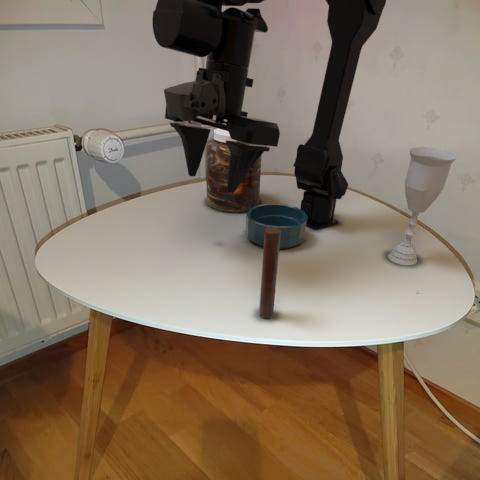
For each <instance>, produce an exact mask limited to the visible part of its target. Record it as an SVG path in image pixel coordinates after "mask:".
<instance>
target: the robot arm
mask: <svg viewBox="0 0 480 480" xmlns="http://www.w3.org/2000/svg"><path fill="white" fill-rule="evenodd" d="M263 2H265V0H157V2H156V5H155V10H153V11H152V12H153V13H152V33H153V36H154V38H155V41H156V43H157V44H158V45H159V46H160V47H162V48H164V49H167V50H171V51H176V52H179V53H182V54H185V55H186V54H187V55H190V56H193V57H198V58H205V57H206V61H205V68H204V67H198V70H196V74H195V79H194V80H193V81H188V82H183V83H179V84H176V85H173V86H169V87H166V88H164V89H163V94H164V100H165V114H164V119H166V120H169V121H171V122H169V125H170V127H171V128H173V129H174V130H175V131H176V133H177V134H178V136H179V137H180V139H181V143H182V148H183V152H184V158H185V163H186V168H187V169H186V170H187V172H188V174H187V175H188V176H189V177H196V176H197V174H198V170H199V168H200V165H201V161H202V158H203V156H204V153H205V150H206V146H207V142H208V140H209V137H210V134H211V129H210V128H207V127H204V126H208V127H212V128H214V129H217V128H219V129H222V130H225V131H228V132H229V134H230V137H231V139H234V140H237V141H227V140H226V143H227V146H228V148H229V150H230V153H231V158H230V166H229V174H228V185H227V191H228V192H229V193H234V192H235V190H236V189H237V187H238V186H239V185H240V183H241V182H242V180H243V179H244V177H245V176H246V174H247V173H248V171H249V170H250V169H251V167H252V166H253V165H254V163H255V162H256V161H257V160H258V159H259V157H260V156H261V157H262V155H263V154H264V152H270V150H271V147H274V148H275V147H278V144H279V141H280V137H281V130H280V128H279V125H278V123H277V122H272V121H269V120H264V119H262V118H261V119H260V118H255V117H249V116H248V114H249V112H247V111H243V107H244V101H245V95H246V90H247V89H246V88H247V87H248V88H253V85H254V79H253V78H249V77H248V76H249V69H250V63H251V59H252V52H253V46H254V40H255V33H265V34H266V33H267V32H268V31H269V27H268V24H267V22H266V20H265V19H264V18H263V16H262V13H261V10H260V8H255V7H254V8H253V7H248V8H246V10H245V11H244V10H243V9H240V8H237V7H243V6H245V5H246V4H261V3H263ZM325 2H326V4H327V6H328V10H327V19H326V24H327V28H328V31H329V36H330V40H331V45H330V50H329V54H328V59H327V63H326V68H325V73H324V78H323V82H322V87H321V92H320V96H319V101H318V105H317V109H316V113H315V114H316V115H315V120H314V123H313V127H312V133H311V136H310V137H309V138H308V139H307V140H306V142H305V143H304V144H303V143H300V144H298V146H297V148H296V156H295V160H294V162H293V165H292V166H293V167H294V177H295V180H296V188H297V189H298V190H302V191H303V194H302V199H301V201H300V207H299V209H301V210H302V211H304V212H305V213H306V215H307V216H308V219H307V226H308V227H309V228H311V229H313V230H319V229H322V228H325V227H326V228H327V227H329V226H334V225H337V224H339V220H338V219H337V218H335V217H334V216H335V209H336V205H337V204H336V203H337V200H341V199H342V198H343V197H344V196H345V195H346V193H347V190H348V187H349V183H348V181H347V179H346V177H345V175H344V174H343V172H342V167H343V162H344V161H343V160H344V154H343V151H342V147H341V142H340V136H341V133H342V129H343V125H344V120H345V116H346V113H347V108H348V105H349V100H350V96H351V92H352V88H353V84H354V80H355V76H356V72H357V69H358V65H359V64H358V63H359V59H360V57H361V53H362V52H361V51H362V49H363V47H364V45H365V44H366V42H367V41H369V39H370V38H371V36H372V35H373V34H374V32H376V30H377V28H378V25H379V23H380V20H381V16H382V14H383V11H384V9H385V6H386V3H387V0H325ZM223 7H228V8H226V9H225V10H223V11H222V9H223ZM214 116H215V119H214ZM172 121H173V122H172Z"/></svg>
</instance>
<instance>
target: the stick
mask: <svg viewBox="0 0 480 480" xmlns="http://www.w3.org/2000/svg"><path fill="white" fill-rule="evenodd" d="M280 234H281V230H280V229H279V228H276V227H268V228H266V229H265V233H264V247H263V249H262V250H263V252H262V264H261V265H262V267H261V278H260V279H261V280H260V297H259V308H258V309H259V311H258V315H259V317H260V318H262V319H264V320H269V319H272V318H273V317H274V311H275V301H276V300H275V298H276V288H277V278H278V277H277V276H278V267H279V257H280V255H279V254H280V249H279V245H280Z"/></svg>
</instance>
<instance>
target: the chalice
mask: <svg viewBox="0 0 480 480" xmlns="http://www.w3.org/2000/svg"><path fill="white" fill-rule="evenodd" d="M409 155H410V160H409V164H408V169H407V171H406V176H405V179H404V193H405V194H404V195H405V199H406V200H405V201H406V203H407V204H406V205H407V208H408V210H409V211H411V212H412V214H411V217H410V219H409V220H408V221H407V224H408V228H407V229H406V230H405V231H404V234H405V239H404V241H402V242H401V243H397V244H396V245H395V246H394V247H393V249H391V251H390V252H389V253H388V255H387V259H389V261H391V262H392V263H394V264H397V265H401V266H413V265H416V264H417V263H418V258H417V256H418V255H417V249H416V247H415V246H414V245H412V243H411V240H412V238H413V237H414V236H415V235H416V233H415V228H416V226H417V225H418V217H419V214H422V213H425V212H426V211H427V210H428V209H429V208H430V207H431V206H432V205H433V204H434V202H435V201H436V200H437V198H438V197H439V196H440V195H441V193H442V192H443V190H444V188H445V186H446V182H447V178H448V176H449V172H450V169H451V167H452V164H453V163H454V162H455V161H456V160H457V158H458V155H457V154H455V152H452V151H450V150H446V149H442V148H438V147H427V146H415V147H412V148H410V149H409Z"/></svg>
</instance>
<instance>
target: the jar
mask: <svg viewBox="0 0 480 480" xmlns="http://www.w3.org/2000/svg"><path fill="white" fill-rule="evenodd" d="M226 140H227V141H237V140H234V139H231V137H230V134H229V132H228V131H225V130H222V129H219V128H214V130H213V137H212V138H210V139H208V140H207V143H206V146H205V173H206V175H205V176H206V177H205V178H206V183H205V184H206V203H207V205H208V206H209V207H211V208H212V209H214V210H217V211H220V212H225V213H247V212H248V210H249V209H251V208H253V207H255V206H258V205H260V204H259V203H260V191H261V175H262V174H261V173H262V172H261V171H262V155H261V156H260V157H259V159H258V160H257V161H256V162H255V163H254V165H253V166H252V167H251V169H250V170H249V171H248V173H247V174H246V176H245V177H244V179H243V180H242V182H241V183H240V185H239V186H238V187H237V189H236V190H235V192H234V193H229V192H228V191H227V185H228V174H229V166H230V158H231V153H230V150H229V148H228V146H227V143H226Z"/></svg>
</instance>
